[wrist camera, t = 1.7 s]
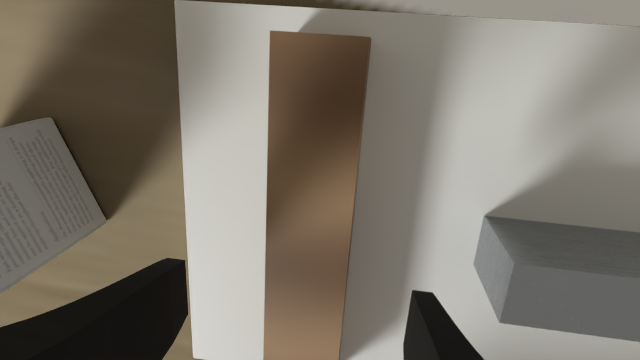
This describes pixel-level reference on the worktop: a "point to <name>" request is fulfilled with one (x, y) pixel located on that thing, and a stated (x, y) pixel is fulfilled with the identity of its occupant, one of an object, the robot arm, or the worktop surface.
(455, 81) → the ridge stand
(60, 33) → the worktop surface
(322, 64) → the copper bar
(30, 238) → the skincare box
